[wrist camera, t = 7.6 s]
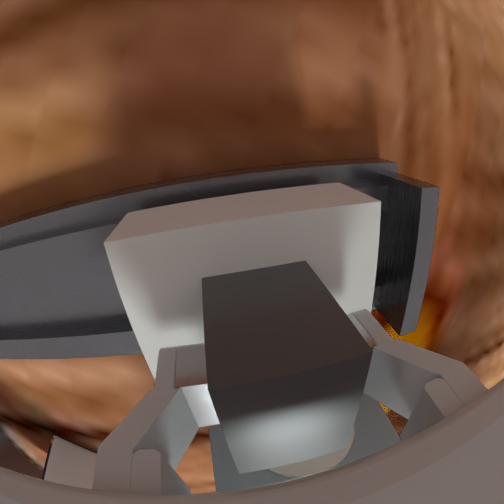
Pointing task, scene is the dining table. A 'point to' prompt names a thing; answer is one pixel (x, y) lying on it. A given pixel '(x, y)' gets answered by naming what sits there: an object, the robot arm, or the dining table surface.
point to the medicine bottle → (69, 464)
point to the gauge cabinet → (359, 445)
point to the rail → (172, 192)
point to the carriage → (260, 308)
